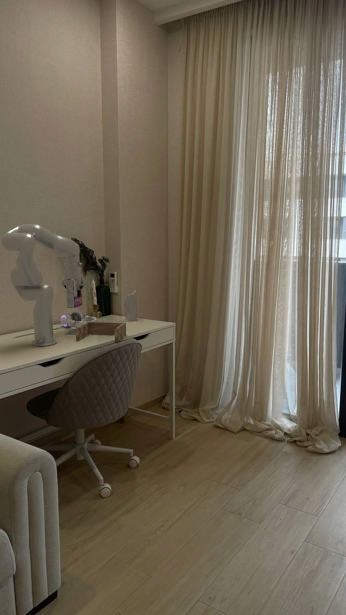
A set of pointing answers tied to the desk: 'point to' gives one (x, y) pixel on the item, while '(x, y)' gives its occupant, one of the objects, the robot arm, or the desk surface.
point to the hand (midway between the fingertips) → (74, 296)
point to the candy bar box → (72, 294)
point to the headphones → (76, 319)
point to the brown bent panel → (101, 330)
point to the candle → (130, 307)
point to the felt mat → (72, 332)
